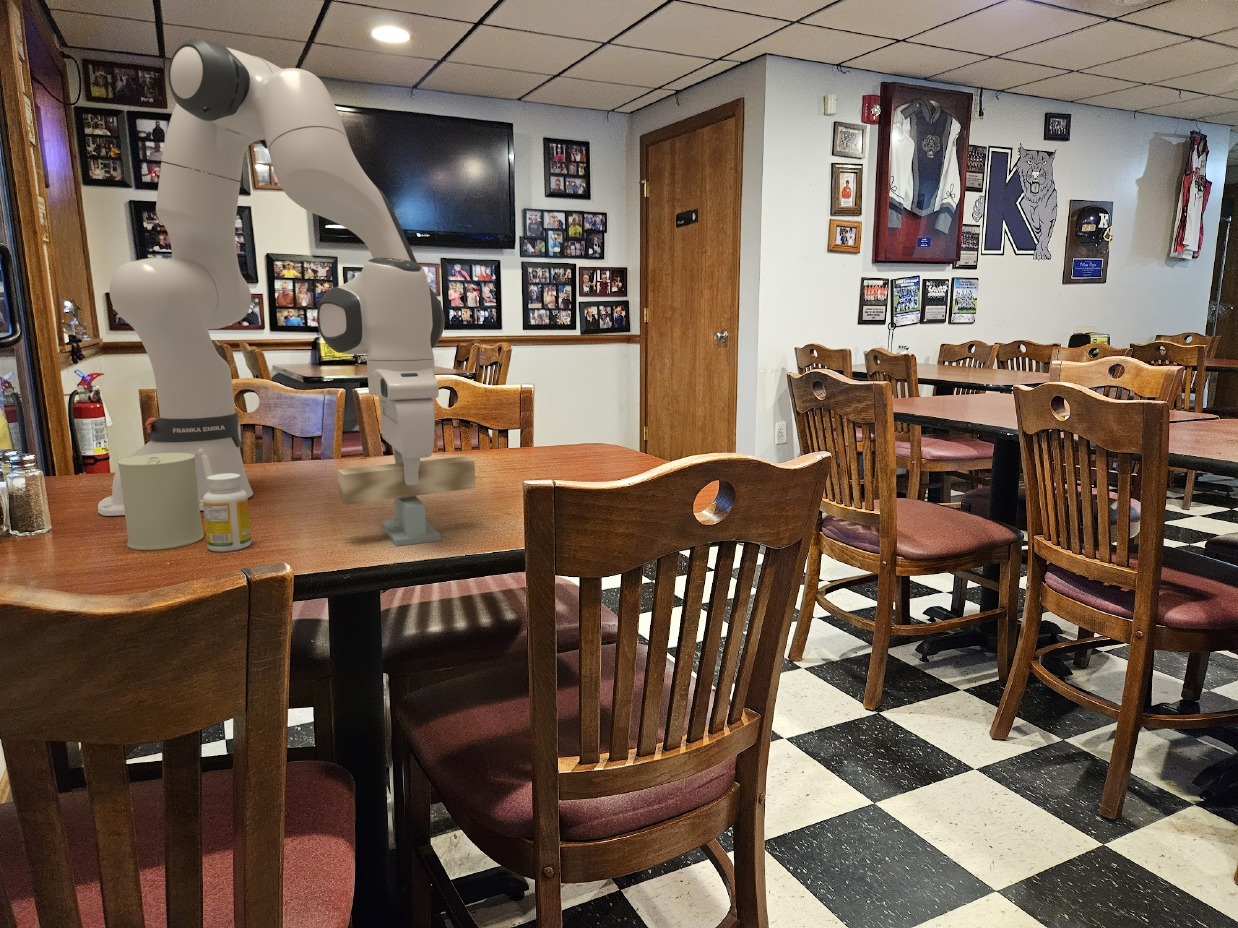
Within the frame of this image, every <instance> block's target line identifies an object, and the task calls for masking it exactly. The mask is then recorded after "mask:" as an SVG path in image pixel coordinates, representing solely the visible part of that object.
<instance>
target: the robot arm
mask: <svg viewBox="0 0 1238 928" xmlns="http://www.w3.org/2000/svg"><path fill="white" fill-rule="evenodd" d="M169 61H170V62H169V67H168V74H167V77H168V78H167V79H168V85H169V88H170V92H171V95H172V97H173V99H174V101H175V103H176V104H175V106H174V108H173V111H172V113H171V117H170V120H169V122H168V126H167V130H166V135H165V138H164V143H163V147H162V155H161V163H160V170H159V179H158V184H157V186H158V187H157V194H156V203H155V204H156V205H155V212H156V216H157V218H158V220H159V221H160V222H161V224H162V225H163V226H164V227H165V229H166V232H167V235H168V237H169V238H168V239H169V241H170V248H171V258H163V257H150V258H142V259H137V260H134V261H130V262H127V263H124V264H123V265H121V266H120V267H118V268H117V269H116V270H115V272H114V273H113V275H112V276H111V279H110V283H109V298H110V302H111V304H112V307H113V309H114V310H115V312H116V313H117V314H118V316H119V317H120V318H122V319H123V320H124V321H125V322H126V323H128V325H130V326H131V327H132V328H133V330H134V331H135V332H136V335H137V336H138V338H139V339H140V341H141V343H142V346H143V347H144V349H145V351H146V353H147V356H148V358H149V361H150V365H151V368H152V371H153V375H154V382H155V389H156V396H157V403H158V411H159V416H158V417H150V418H147V420H146V422H145V429H146V436H147V440H149V441H148V442H147V443H145V444H144V445H143V446H142V447H140V448H139V449H138V450H137V451H135V453H133V454H132V455H130V457H133V456H139V455H147V454H158V453H190V454H194V455H195V467H196V477H197V488H198V498H199V507H200V512H201V511H204V506H203V497H204V495H205V494H206V493H207V492H209V491H210V489H209V488H208V486H207V477H209V476H212V475H217V474H227V473H234V474H239V475H240V476H241V485H240V486H239V489H242V490H244V491H245V492H246V493H247V495H248V499H249V498H251V497H253V495H254V492H253V490H252V487H251V484H250V482H249V479H248V476H247V474H246V470H245V466H244V461H243V458H242V454H241V448H240V446H241V445H242V444H241V443H242V435H241V434H242V432H241V422H240V419H239V415H238V413H237V412H236V409H235V399H234V398H235V397H234V389H233V387H234V386H233V380H232V378H233V377H232V371H231V367H230V365H229V364H228V362H227V361H226V360H225V359H224V358H223V357H222V356H221V355H220V354H219V353H218V351H217V350H216V347H215V344H214V343H213V340H212V338H211V335H210V332H209V330H217V329H222V328H226V327H228V326H231V325H233V324H236V323H237V322H240V321H241V320H243V319H244V318H245V317H246V316H247V314H248V312H249V311H250V307H251V305H252V291H251V290H250V289H251V288H250V287H249V284H248V283H247V280H246V279H245V278H244V277H243V275H242V273H241V269H240V264H239V258H238V253H237V252H238V251H237V246H236V245H237V244H236V220H237V214H238V213H237V212H238V203H239V194H240V189H241V188H240V187H241V182H242V172H243V163H244V162H243V161H244V156H245V153H246V151H247V148H248V147H249V146H250V145H252V144H253V143H254V142H257V141H258V142H259V143H260V144H261V146H262V147H264V148H265V149H267V150H268V154H269V158H270V162H271V166H272V169H273V171H274V172H273V173H274V174H275V177H276V179H277V182H278V184H279V185H280V187H281V189H282V190H283V192H284V193H285V195H286V196H287V197H288V198H289V200H291V201H292V202H293V203H295V204H296V205H298V206H299V207H300V208H302V209H304V210H306V211H308V212H310V213H312V214H314V215H317V216H320V217H322V218H324V219H327V220H329V221H331V222H334V223H335V224H337V225H340V226H342V227H343V228H346V229H347V230H349V231H350V232H351V233H353V234H354V235H356V236H357V237H358V238H359V239H360V240H361V241H362V242H363V243H364V244H365V245H366V247H367V249H368V250H369V252H370V255H371V257H372V258H370V259H368V260H367V261H365V263H364V265H363V267H362V269H361V272H360V273H359V274H358V275H357V276H355V277H354V278H352V279H351V280H349V281H347V282H345V283H343V284H341V285H339V286H335V287H331V288H330V289H328V290H327V291H326V293H325V294H324V295H323V296H322V297H321V299H320V301H319V304H318V306H317V312H316V319H317V321H316V322H317V327H318V328H317V329H318V332H319V335H320V336H321V338H322V339H323V341H324V342H325V344H326V346H327V347H328V348H330V349H332V350H333V351H334V352H336V353H339V354H340V353H341V354H343V355H349V356H350V355H356V356H357V355H367V356H366V372H367V383H368V394H369V395H370V396H375V397H378V400H379V401H378V406H379V407H380V408H379V409H380V410H379V411H380V412H379V413H380V430H381V436H382V439H383V440H384V441H386V442H387V443H388V444H389V445H390V446H391V447H392V452H393V458H394V464H397V463H403V465H404V471H403V477H404V478H403V480H404V483H405V484H406V485H417V484H418V482H419V477H418V471H419V465H420V461H421V459H423V458H430V457H432V455H433V452H434V446H435V431H436V429H435V425H436V422H435V421H436V420H435V418H436V408H435V400H434V399H437V398H439V396H440V395H439V392H440V391H439V383H438V381H437V379H436V372H435V371H436V369H435V354H434V351H433V348H435V347H436V345H437V344H438V342H439V340H440V339H441V337H442V335H443V332H444V330H445V324H446V317H445V313H444V309H443V307H442V304H441V302H440V300H439V298H438V297H437V295H436V294H435V292H434V290H433V289H432V288H431V287H430V284H429V282H428V277H427V274H426V272H425V269H424V267H422V265H420V264H419V263H418V261H417V259H416V256H415V255H414V253H413V250H412V249H411V246H410V244H409V241H408V240H407V237H406V234H405V232H404V231H403V229H402V226H401V224H400V221H399V219H398V218H397V216H396V214H395V212H394V209H393V208H392V205H391V203H390V201H389V200H388V198H387V196H386V195H385V194H384V193H383V191H382V190H381V189H380V188H378V187H377V186H376V184H374V183H373V181H372V180H371V179H370V178H369V177H368V175H367V174H366V173H365V171H364V169H363V168H362V167H361V165H360V163H359V161H358V159H357V158H356V156H355V154H354V152H353V150H352V147H351V144H350V142H349V138H348V135H347V132H346V128H345V127H344V124H343V121H342V119H341V116H340V114H339V112H338V109H337V107H336V104H335V102H334V101H333V99H332V96H331V94H330V93H329V91H328V89H327V87H326V85H325V84H324V83H323V81H322V80H321V79H320V78H319V77H318V76H317V75H315V74H314V73H313V72H310V71H308V70H305V69H303V68H298V67H297V68H296V67H288V68H287V67H286V68H281V67H280V66H278V65H276V64H274V63H272V62H270V61H268V60H266V59H264V58H262V57H259V56H256V55H251V54H248V53H245V52H243V51H240V50H237V49H233V48H230V47H228V46H227V47H226V46H225V45H224V44H222V43H220V42H217V41H214V40H210V39H203V38H190V39H187V40H185V41H183V42H182V43H181V44H180V45H179V46H178V48H176V50H175V51H174V53H173V55H172V56H171V59H170V60H169ZM111 486H112V488H111V489H112V492H111V494H112V495H109V496H107V497H104V498H103V499H101V500H100V501H99V502H98V504H97V512H98V514H99V515H101V516H106V517H110V516H111V517H112V516H125V510H124V502H123V493H122V486H121V479H120V472H119V466H118V468H117V469H116V470H115V472H114V476H113V480H112V485H111Z"/></svg>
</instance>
